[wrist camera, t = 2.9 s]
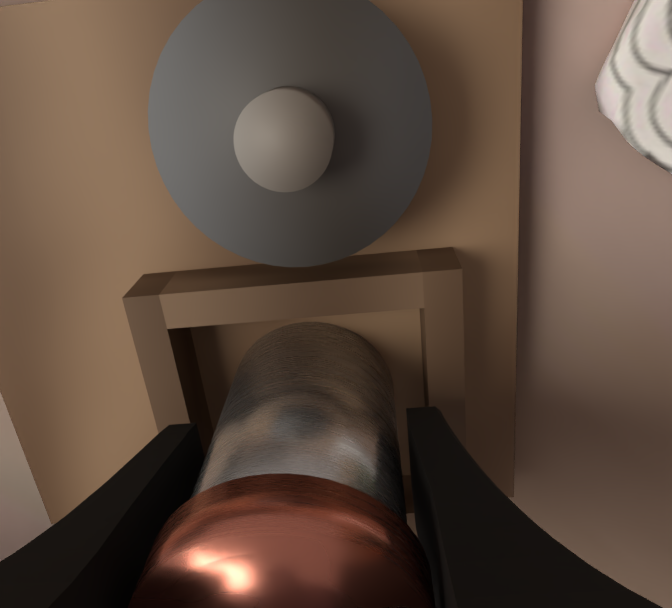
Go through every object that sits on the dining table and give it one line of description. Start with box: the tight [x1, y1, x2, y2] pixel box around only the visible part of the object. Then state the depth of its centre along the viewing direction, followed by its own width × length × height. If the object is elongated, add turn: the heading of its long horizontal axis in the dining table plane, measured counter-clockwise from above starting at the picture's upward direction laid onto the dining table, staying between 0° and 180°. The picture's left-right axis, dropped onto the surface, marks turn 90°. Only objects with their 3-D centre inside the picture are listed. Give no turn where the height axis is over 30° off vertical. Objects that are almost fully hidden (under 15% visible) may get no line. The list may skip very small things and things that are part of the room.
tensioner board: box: [0, 0, 523, 538], centre depth 13 cm, size 13×13×4 cm
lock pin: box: [128, 322, 436, 608], centre depth 12 cm, size 5×5×7 cm
